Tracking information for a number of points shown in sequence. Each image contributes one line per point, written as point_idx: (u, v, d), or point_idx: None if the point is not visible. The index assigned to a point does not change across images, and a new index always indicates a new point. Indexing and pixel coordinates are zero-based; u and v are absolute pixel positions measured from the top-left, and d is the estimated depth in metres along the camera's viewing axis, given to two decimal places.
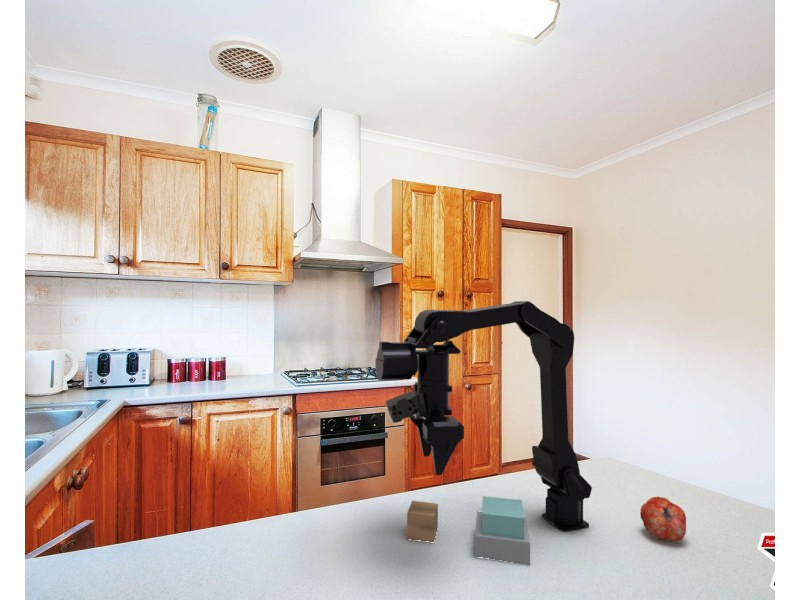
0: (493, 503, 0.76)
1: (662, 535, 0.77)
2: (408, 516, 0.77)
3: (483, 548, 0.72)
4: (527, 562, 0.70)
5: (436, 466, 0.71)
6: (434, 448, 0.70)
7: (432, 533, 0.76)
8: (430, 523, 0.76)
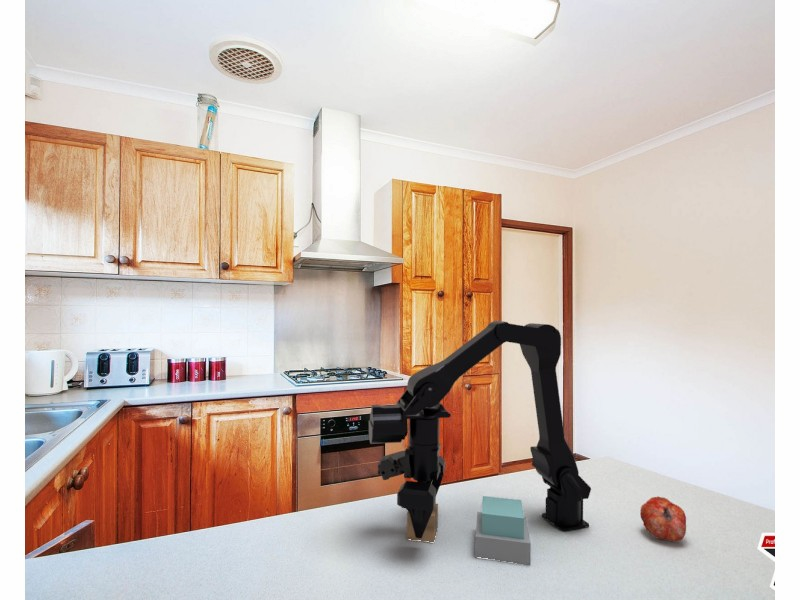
0: (493, 503, 0.76)
1: (662, 535, 0.77)
2: (408, 516, 0.77)
3: (484, 548, 0.71)
4: (527, 562, 0.70)
5: (415, 529, 0.74)
6: (410, 512, 0.73)
7: (432, 533, 0.76)
8: (430, 523, 0.76)
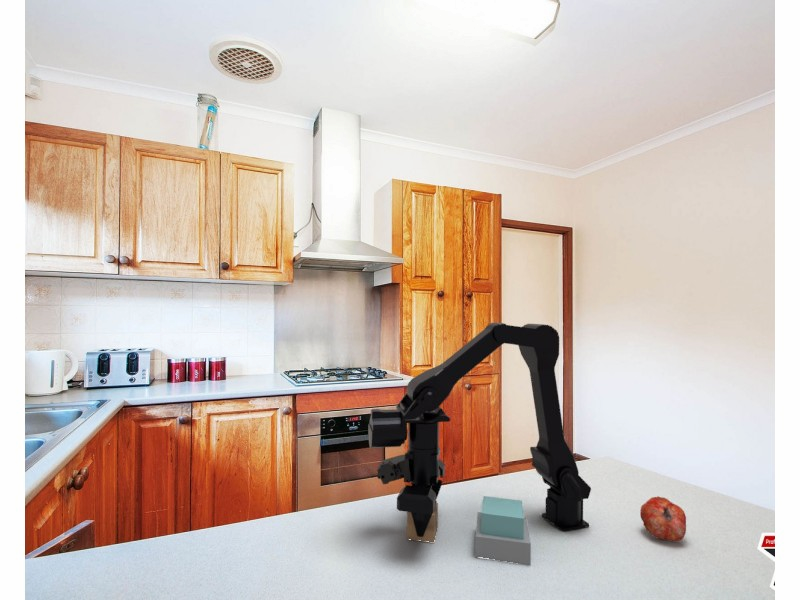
0: (493, 503, 0.77)
1: (662, 535, 0.77)
2: (408, 515, 0.77)
3: (484, 548, 0.71)
4: (528, 563, 0.70)
5: (416, 528, 0.76)
6: (411, 511, 0.75)
7: (432, 532, 0.76)
8: (430, 522, 0.76)
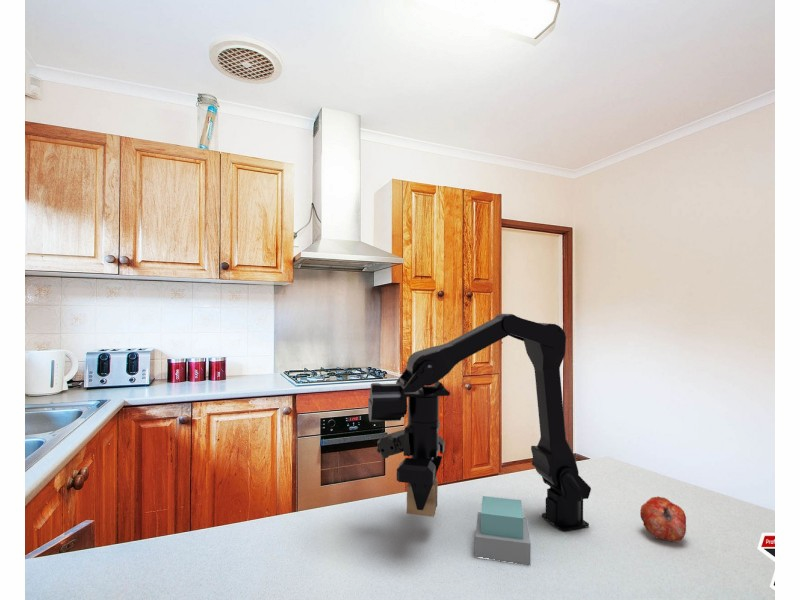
0: (492, 503, 0.77)
1: (662, 535, 0.77)
2: (408, 489, 0.77)
3: (484, 548, 0.71)
4: (527, 563, 0.70)
5: (416, 501, 0.76)
6: (411, 484, 0.75)
7: (432, 506, 0.76)
8: (430, 496, 0.76)
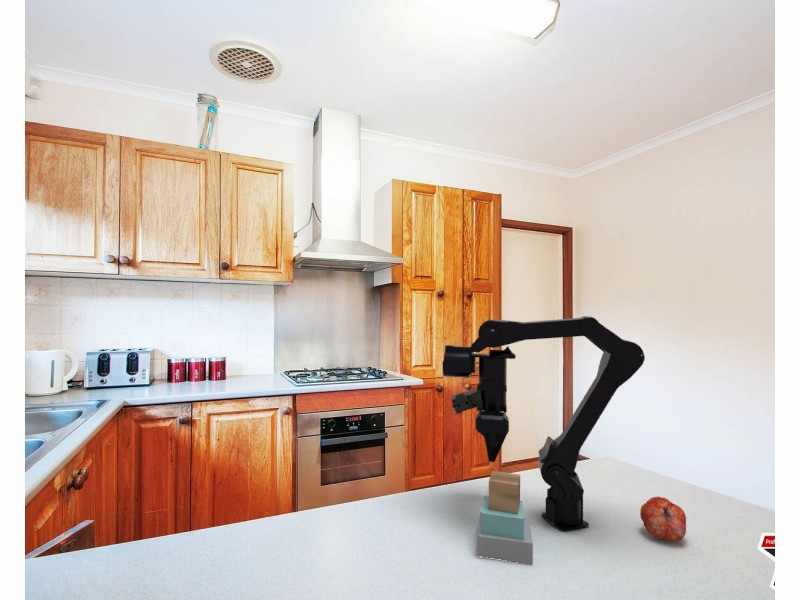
0: None
1: (662, 535, 0.77)
2: (490, 484, 0.74)
3: (486, 548, 0.72)
4: (530, 563, 0.70)
5: (488, 453, 0.83)
6: (485, 437, 0.82)
7: (516, 503, 0.73)
8: (513, 492, 0.73)
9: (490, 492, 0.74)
